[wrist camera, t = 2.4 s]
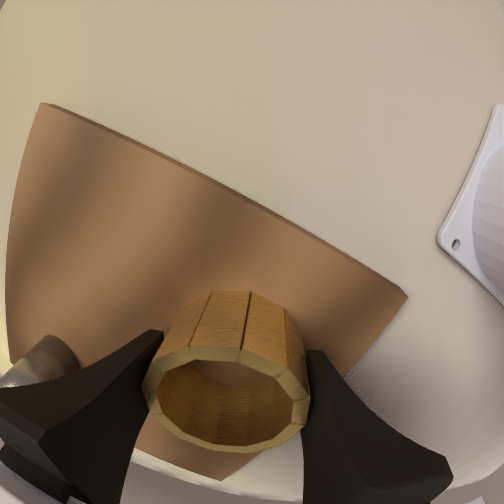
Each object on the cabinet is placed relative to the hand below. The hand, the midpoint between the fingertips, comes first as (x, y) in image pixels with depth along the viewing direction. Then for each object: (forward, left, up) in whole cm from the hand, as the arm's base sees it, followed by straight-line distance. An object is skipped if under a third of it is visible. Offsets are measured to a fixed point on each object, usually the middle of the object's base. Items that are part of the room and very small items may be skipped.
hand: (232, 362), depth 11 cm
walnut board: (+4, +4, -2) cm, 6 cm away
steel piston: (+8, +7, -2) cm, 11 cm away
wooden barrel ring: (0, 0, -1) cm, 1 cm away
